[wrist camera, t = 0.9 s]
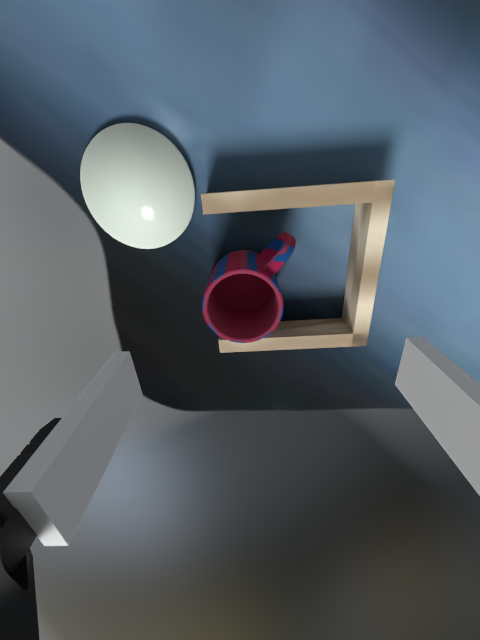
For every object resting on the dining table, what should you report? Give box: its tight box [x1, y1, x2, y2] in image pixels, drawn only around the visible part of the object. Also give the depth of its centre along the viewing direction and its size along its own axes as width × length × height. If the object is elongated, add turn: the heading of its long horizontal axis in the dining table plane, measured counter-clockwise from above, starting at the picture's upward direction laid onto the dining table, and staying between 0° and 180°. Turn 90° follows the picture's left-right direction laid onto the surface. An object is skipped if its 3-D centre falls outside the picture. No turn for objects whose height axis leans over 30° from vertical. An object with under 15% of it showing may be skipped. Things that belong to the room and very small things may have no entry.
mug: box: [202, 232, 296, 343], centre depth 24 cm, size 7×10×7 cm
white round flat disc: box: [80, 123, 195, 249], centre depth 24 cm, size 10×10×1 cm
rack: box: [201, 180, 395, 353], centre depth 26 cm, size 15×15×4 cm
